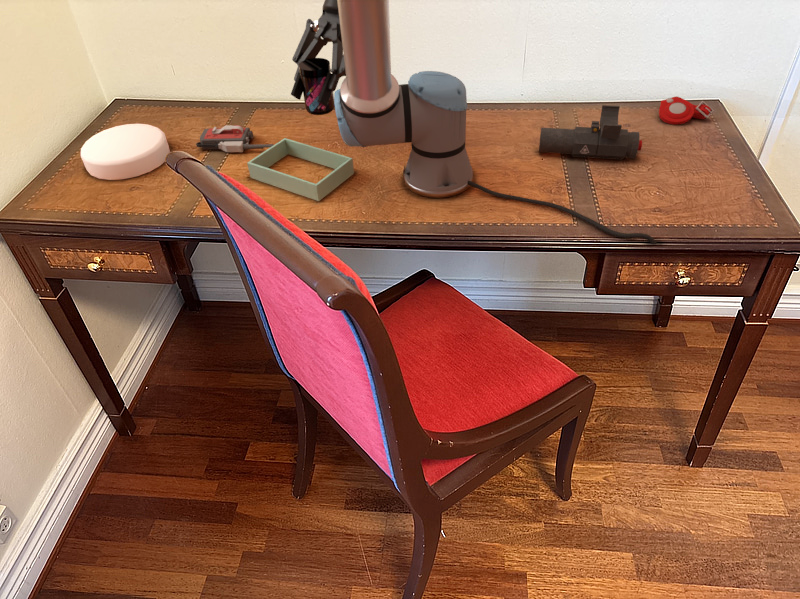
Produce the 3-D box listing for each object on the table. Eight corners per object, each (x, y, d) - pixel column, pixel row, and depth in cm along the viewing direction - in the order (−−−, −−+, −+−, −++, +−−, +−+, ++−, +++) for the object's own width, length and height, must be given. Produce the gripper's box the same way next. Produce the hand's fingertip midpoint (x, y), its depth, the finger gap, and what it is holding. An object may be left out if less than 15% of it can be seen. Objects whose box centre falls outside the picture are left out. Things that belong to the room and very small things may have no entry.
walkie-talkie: (194, 154, 154) (274, 153, 153) (190, 138, 151) (271, 136, 150) (204, 137, 161) (281, 136, 159) (200, 121, 158) (278, 119, 156)
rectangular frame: (354, 173, 144) (352, 158, 142) (318, 201, 136) (316, 185, 134) (287, 152, 153) (284, 137, 150) (250, 177, 145) (246, 162, 142)
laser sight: (539, 141, 151) (543, 102, 144) (636, 147, 147) (646, 107, 140) (537, 162, 144) (542, 121, 137) (639, 168, 140) (649, 127, 133)
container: (167, 173, 148) (161, 155, 145) (79, 185, 146) (71, 167, 143) (172, 134, 163) (167, 117, 160) (92, 144, 160) (85, 128, 157)
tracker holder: (668, 124, 152) (651, 97, 158) (666, 137, 156) (649, 111, 161) (718, 108, 151) (699, 82, 157) (714, 121, 155) (696, 96, 160)
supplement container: (300, 114, 141) (292, 68, 134) (314, 101, 145) (307, 56, 138) (327, 118, 139) (320, 72, 131) (340, 104, 143) (335, 59, 136)
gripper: (389, 14, 135) (353, 116, 136) (317, 2, 144) (283, 98, 145) (373, -4, 128) (336, 102, 130) (299, -16, 137) (264, 84, 138)
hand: (308, 100), depth 137 cm, fingers closed on supplement container, 7 cm apart
